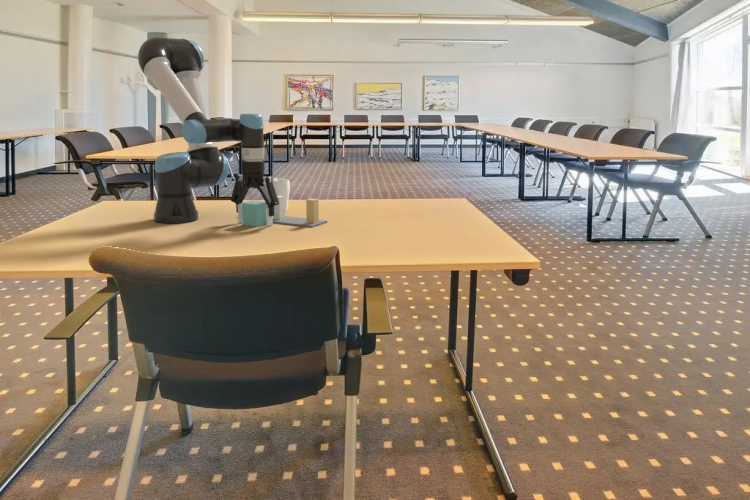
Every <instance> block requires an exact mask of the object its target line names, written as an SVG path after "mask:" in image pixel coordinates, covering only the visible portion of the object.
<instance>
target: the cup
mask: <svg viewBox="0 0 750 500" xmlns="http://www.w3.org/2000/svg"><path fill="white" fill-rule="evenodd" d="M272 178H273V177H272ZM290 184H291V183H290V179H289V178H282V177H278V178H277V177H274V178H273V186H274V189H275V192H276V195H277V196H284V204H285V212H287V211H288V207H289V198H290V191H291V190H290V189H291V185H290ZM266 190H267V187H266ZM267 191H268V190H267Z"/></svg>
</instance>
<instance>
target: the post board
mask: <svg viewBox="0 0 750 500" xmlns="http://www.w3.org/2000/svg"><path fill="white" fill-rule="evenodd" d="M277 198H278V201H279V205H276V206H274V216H273V224H278V225H287V226H296V227H306V228H315V227H318V226H321V225H324V224H327V223H328V220H325V219H324V220H323V219H319V199H318V198H307V199H306V200H305V202H306V203H305V204H306V205H305V206H306V211H305V212H306V217H305V218H304V217H299V216H298V217H296V216H288V215H285V214H286V211H285V204H284V196H277Z"/></svg>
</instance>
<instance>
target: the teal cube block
mask: <svg viewBox="0 0 750 500" xmlns="http://www.w3.org/2000/svg"><path fill="white" fill-rule="evenodd" d="M241 204H242V213H243V223H242V226H245V227H247V226H249V227H254V228H257V227H262V226H265V225H266V207H267V204H266V202H265V201H262V200H249V201H246V202H243V203H241Z"/></svg>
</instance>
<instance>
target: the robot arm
mask: <svg viewBox="0 0 750 500" xmlns="http://www.w3.org/2000/svg"><path fill="white" fill-rule="evenodd" d="M137 60H138V65H139V68H140V70H141V71H142V73H143V74H144V76H145V77H146V78H147V79H149V80H151V81H152V82H153V84H154V85H155V87H156V88H157V89H158V90H159V92H160V93H161V95H162V97H164V99H165V101H166V102H167V103H168V105H169V106H170V108H171V109H172V110H173V112H174V113H175V115H176V116H177V117H178V119H179V120H180V122H181V123H182V124H181V134H182V137H183V139H184V141H185V142H186V143H187V145H188V148H187V150H186V151H177V152H176V151H175V152H169V153H164V154H160V155H158V157H156V158H155V162H154V165H155V167H154V173H155V181H156V193H157V200H156V206H155V210H154V212H153V221H154V222H155V223H159V224H182V223H183V224H184V223H189V222H194V221H197V220H199V212H198V210H197V207H196V204H195V202H194V199H193V193H192V189H196V188H203V187H214V186H218V185H221V184H222V183H224V182H225V181H226V179H227V177H228V174H229V170H230V169H229V168H230V167H229V165H230V164H229V161H228V158H227V156H226V155H225V154H224V153H222V152H219V146H217V145H216V144H214V143H222V142H224V143H225V142H240V148H241V149H240V150H241V151H240V153H241V160H242V161H241V171H242V174H241V173H238V174H235V176H234V177H235V178H234V181H235V182H234V187H233V190H232V193H231V198H230V201H231V202H232V203H235V207H236V213H237V219H238V224H243V213H242V203H244V199H245V198H246V196H247V194H248V192H249V190H250V189H251V188H253V189H257V191H259V193H260V195H261V197H262V199H263V200H264V202H266V204H267V207H266V224H265V225H266V227H270V226H273V225H274V223H273V216H274V206H276V205H279V201H278V198H277V195H276V192H275V189H274V186H273V176H271V175H270V176H265V170H266V169H265V167H266V166H265V146H264V145H265V144H264V143H265V142H264V141H265V140H264V139H265V138H264V121H263V115H262V114H260V113H241V114H240V115H239V119H238V118H232V117H231V118H230V117H225V118H219V119H217V118H214V119H212V118H211V119H208V118H207V115H206V114H207V113H206V110H205V106H204V105H205V104H204V101H203V97H202V92H201V89H200V84H199V78H200V76H201V75H202V74H201V72H202V70H203V69H204V65H205V64H204V63H205V55H204V53H203V50H202V48H201V46H200V45H199V43H197V42H196V41H194V40H191V39H190V40H189V39H186V38H174V37H173V38H169V37H159V36H156V37H151V38H148V39H147V40H145V41H144V42H143V43H142V44H141V46H140V47H139V49H138V53H137ZM266 187H267V190H268V191H267V190H266Z"/></svg>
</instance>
